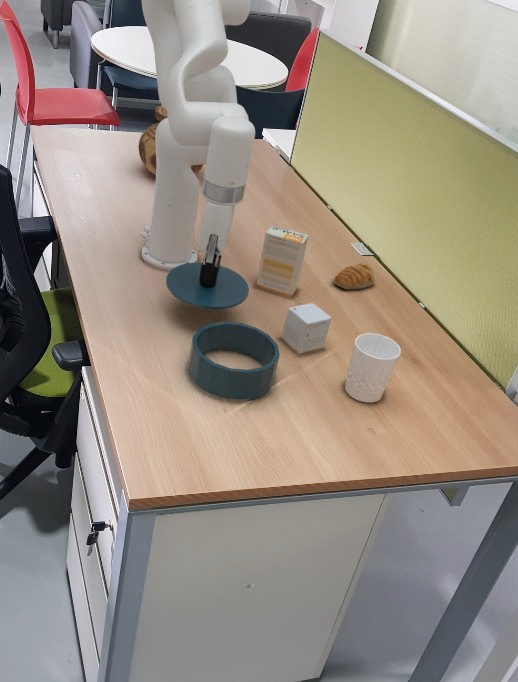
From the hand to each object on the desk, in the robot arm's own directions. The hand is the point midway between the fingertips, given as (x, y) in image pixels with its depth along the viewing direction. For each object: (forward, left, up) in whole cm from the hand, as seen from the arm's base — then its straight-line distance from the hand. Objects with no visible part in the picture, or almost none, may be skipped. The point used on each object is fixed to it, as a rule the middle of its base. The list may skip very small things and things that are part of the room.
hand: (208, 276), depth 144 cm
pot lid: (0, 0, -2) cm, 2 cm away
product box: (+18, +9, -9) cm, 22 cm away
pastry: (+11, +39, -9) cm, 41 cm away
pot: (+17, -10, -9) cm, 22 cm away
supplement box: (+2, +22, -9) cm, 24 cm away
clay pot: (-56, +47, -9) cm, 74 cm away
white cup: (+35, +6, -9) cm, 36 cm away
